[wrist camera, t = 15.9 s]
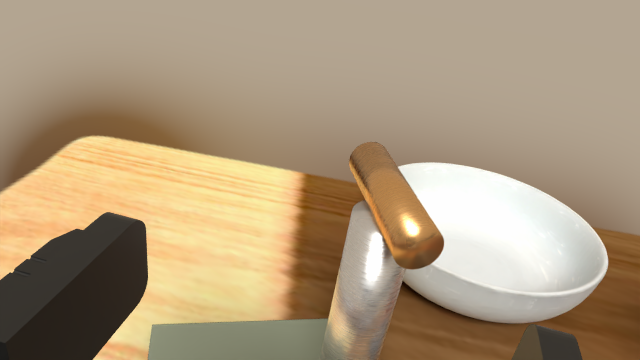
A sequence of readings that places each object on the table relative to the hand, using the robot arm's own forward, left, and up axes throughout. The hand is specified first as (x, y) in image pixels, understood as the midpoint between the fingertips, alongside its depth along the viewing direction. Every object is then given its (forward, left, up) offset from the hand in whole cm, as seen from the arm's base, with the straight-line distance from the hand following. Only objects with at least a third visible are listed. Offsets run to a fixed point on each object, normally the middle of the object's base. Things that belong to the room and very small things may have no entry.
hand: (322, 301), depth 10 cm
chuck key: (+10, -5, -21) cm, 24 cm away
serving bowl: (+26, -23, -22) cm, 41 cm away
